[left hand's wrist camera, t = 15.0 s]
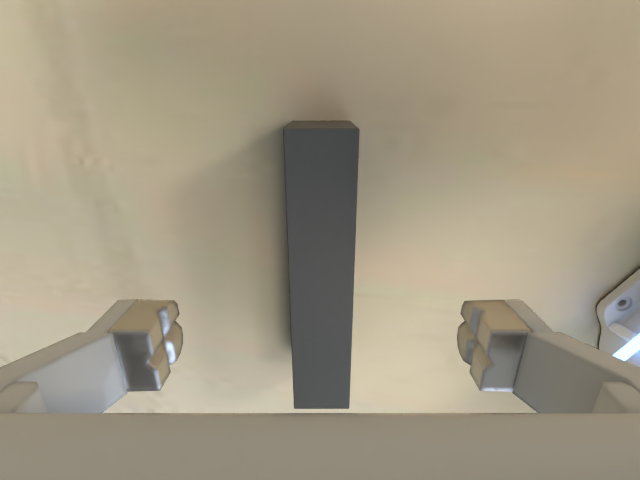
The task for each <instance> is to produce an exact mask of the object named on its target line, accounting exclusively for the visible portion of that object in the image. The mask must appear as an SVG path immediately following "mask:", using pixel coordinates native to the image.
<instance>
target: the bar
mask: <svg viewBox="0 0 640 480" xmlns="http://www.w3.org/2000/svg"><path fill="white" fill-rule="evenodd" d="M283 134H284V160H285V186H286V212H287V238H288V264H289V289H290V315H291V341H292V367H293V393H294V409H349V400H350V373H351V345H352V317H353V289H354V262H355V234H356V206H357V178H358V151H359V128H358V127H356V126H355V125H354V124H353V123H352V122H350V121H292V122H291V123H290V124H289V125H287V126H286V127H285V128H284V129H283Z"/></svg>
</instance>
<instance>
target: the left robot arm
mask: <svg viewBox="0 0 640 480" xmlns="http://www.w3.org/2000/svg"><path fill="white" fill-rule="evenodd" d="M620 300H621V301H620ZM619 301H620V302H619ZM178 315H179V309H178V305H177V303H176V302H175V301H174V300H138V299H132V300H118V301H117V302H116V303H115V304H114V305H113V306H112V307H111V308H110V309H109V310H108V311H107V312H106V313H105V314H104V315H103V316H102V317H101V318H100V319H99V320H98V321H97V322H96V323H95V324H94V325H93V326H92V327H91V328H90V329H89V330H88V331H87V332H86V333H78V334H75V335H73V336H71V337H69V338H66V339H64V340H62V341H59V342H57V343H55V344H53V345H50V346H48V347H46V348H44V349H41V350H39V351H37V352H34V353H32V354H30V355H28V356H25V357H23V358H21V359H19V360H16V361H14V362H12V363H9V364H7V365H5V366H3V367H0V480H640V269H638V270H637V271H636V272H635V273H634V274H632V275H631V276H630V277H629V278H628V279H626V280H625V281H624V282H623V283H622V284H620V285H619V286H618V287H617V288H616V289H614V290H613V291H612V292H611V293H610V294H608V295H607V296H606V297H605V298H604V299H602V300H601V301H600V302H599V304H598V305H597V316H598V319H599V322H600V324H601V336H600V341H599V349H596V348H594V347H592V346H590V345H587V344H585V343H583V342H581V341H578V340H576V339H574V338H571V337H569V336H567V335H565V334H562V333H554V332H553V331H552V330H551V329H550V328H549V327H548V326H547V325H546V324H545V323H544V322H543V321H542V320H541V319H540V318H539V317H538V316H537V315H536V314H535V313H534V312H533V311H532V310H531V309H530V308H529V307H528V306H527V305H526V304H525V303H524V302H523V301H521V300H519V299H512V300H477V301H464V303H463V305H462V309H461V315H462V317H463V319H464V320H465V321H464V322H463V323H462V324H461V325H460V326H459V327H458V334H457V343H458V349H459V353H460V355H461V357H462V359H463V361H465V362H466V363H468V364H469V365H471V367H470V374H471V376H472V377H473V379H474V381H475V383H476V385H477V387H478V388H479V390H480V391H513V394H515V395H516V396H517V397H518V398H520V399H521V400H522V401H524V402H525V403H526V404H527V405H529V406H530V407H531V408H533V409H534V410H535V411H536V412H538V413H102V412H104V411H105V410H106V409H108V408H109V407H110V406H111V405H113V404H114V403H115V402H117V401H118V400H119V399H120V398H122V397H123V396H124V395H126V394H127V391H160V390H161V388H162V387H163V385H164V383H165V381H166V379H167V378H168V376H169V374H170V367H169V365H171V364H172V363H174V362H175V361H177V359H178V357H179V355H180V353H181V349H182V344H183V333H182V327H181V326H180V325H179V324H178V323H177V322H176V321H175V320H176V319H177V317H178Z"/></svg>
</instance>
